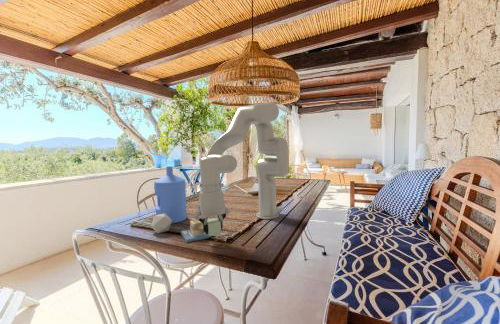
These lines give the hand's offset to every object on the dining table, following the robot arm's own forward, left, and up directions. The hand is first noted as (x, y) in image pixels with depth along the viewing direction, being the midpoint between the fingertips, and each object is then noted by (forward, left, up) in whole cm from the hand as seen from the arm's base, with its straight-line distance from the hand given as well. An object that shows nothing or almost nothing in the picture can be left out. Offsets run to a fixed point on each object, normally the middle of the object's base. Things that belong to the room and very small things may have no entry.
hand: (213, 231), depth 99 cm
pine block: (+4, -11, -4) cm, 12 cm away
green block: (0, 0, -1) cm, 1 cm away
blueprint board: (+4, -11, -5) cm, 13 cm away
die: (+17, -24, -5) cm, 29 cm away
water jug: (+10, -39, -5) cm, 40 cm away
